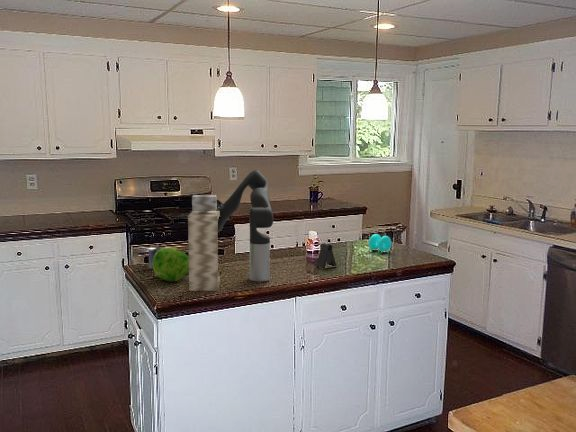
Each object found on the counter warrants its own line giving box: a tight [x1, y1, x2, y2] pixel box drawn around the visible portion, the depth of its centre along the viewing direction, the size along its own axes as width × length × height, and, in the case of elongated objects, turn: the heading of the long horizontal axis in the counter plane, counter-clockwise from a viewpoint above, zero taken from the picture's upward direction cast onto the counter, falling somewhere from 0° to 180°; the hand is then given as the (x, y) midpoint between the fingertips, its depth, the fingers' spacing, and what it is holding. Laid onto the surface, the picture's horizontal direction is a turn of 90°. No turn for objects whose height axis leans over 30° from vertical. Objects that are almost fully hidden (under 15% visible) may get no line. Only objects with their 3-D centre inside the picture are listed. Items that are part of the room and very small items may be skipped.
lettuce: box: [152, 247, 189, 282], centre depth 242 cm, size 17×20×15 cm
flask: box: [148, 244, 167, 270], centre depth 264 cm, size 10×3×12 cm, turn 133°
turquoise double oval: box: [368, 233, 392, 252], centre depth 308 cm, size 10×10×10 cm
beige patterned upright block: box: [187, 211, 221, 292], centre depth 232 cm, size 12×16×32 cm
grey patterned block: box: [191, 194, 218, 212], centre depth 240 cm, size 10×23×6 cm, turn 3°
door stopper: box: [315, 242, 337, 268], centre depth 270 cm, size 9×6×12 cm, turn 120°
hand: (207, 198), depth 245 cm, fingers closed on grey patterned block, 3 cm apart
